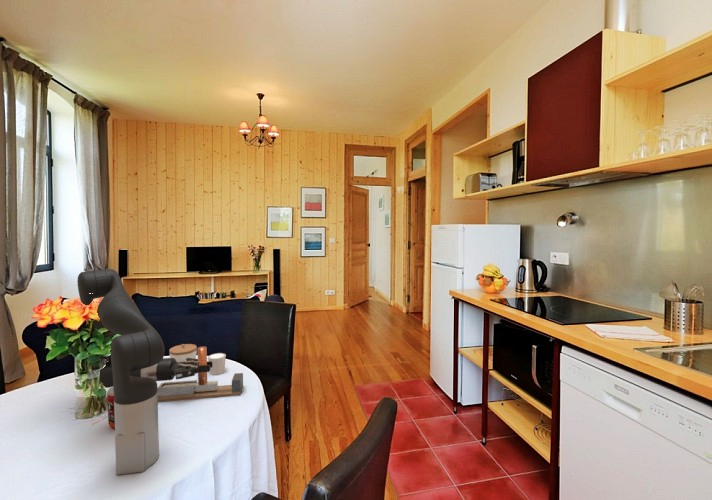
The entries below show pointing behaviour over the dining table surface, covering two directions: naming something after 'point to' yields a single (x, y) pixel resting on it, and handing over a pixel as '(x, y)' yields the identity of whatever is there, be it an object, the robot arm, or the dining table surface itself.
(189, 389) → the guide sleeve
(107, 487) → the dining table surface
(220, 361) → the beige cylindrical piece
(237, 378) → the socket block
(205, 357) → the sliding bolt with handle
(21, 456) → the dining table surface
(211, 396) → the plank
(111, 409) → the canned food
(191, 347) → the lidded jar
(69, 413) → the dining table surface
